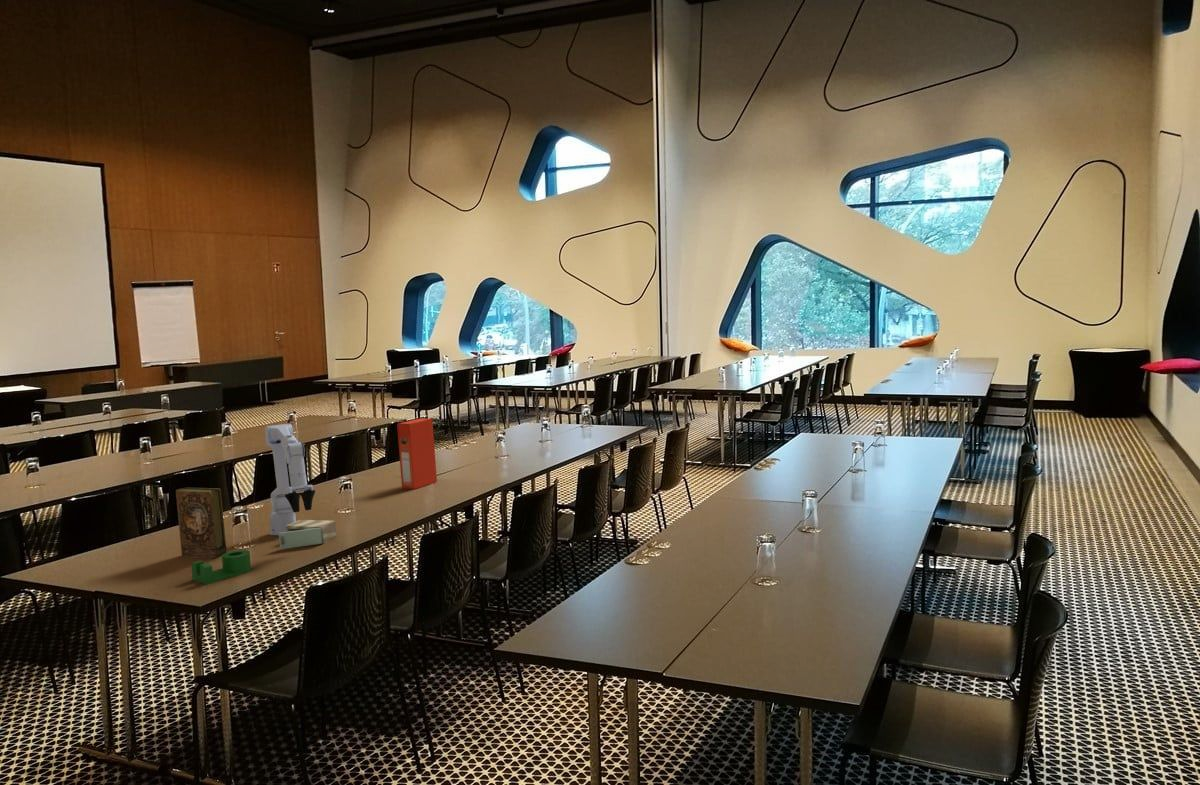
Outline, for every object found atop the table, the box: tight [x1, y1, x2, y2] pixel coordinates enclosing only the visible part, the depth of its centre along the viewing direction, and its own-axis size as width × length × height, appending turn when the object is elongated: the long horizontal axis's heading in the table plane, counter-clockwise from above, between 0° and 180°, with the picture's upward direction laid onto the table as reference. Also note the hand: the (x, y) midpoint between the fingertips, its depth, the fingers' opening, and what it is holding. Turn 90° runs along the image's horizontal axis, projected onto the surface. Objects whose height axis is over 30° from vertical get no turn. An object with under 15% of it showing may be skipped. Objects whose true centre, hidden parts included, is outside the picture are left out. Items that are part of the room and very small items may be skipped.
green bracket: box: [190, 549, 252, 585], centre depth 303 cm, size 18×9×6 cm, turn 142°
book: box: [175, 487, 227, 559], centre depth 327 cm, size 16×6×25 cm, turn 74°
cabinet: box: [286, 519, 337, 545], centre depth 343 cm, size 16×9×6 cm, turn 75°
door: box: [278, 527, 323, 550], centre depth 333 cm, size 16×2×6 cm, turn 110°
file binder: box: [396, 418, 438, 490], centre depth 434 cm, size 8×17×32 cm, turn 152°
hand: (302, 511), depth 328 cm, fingers open, 7 cm apart
